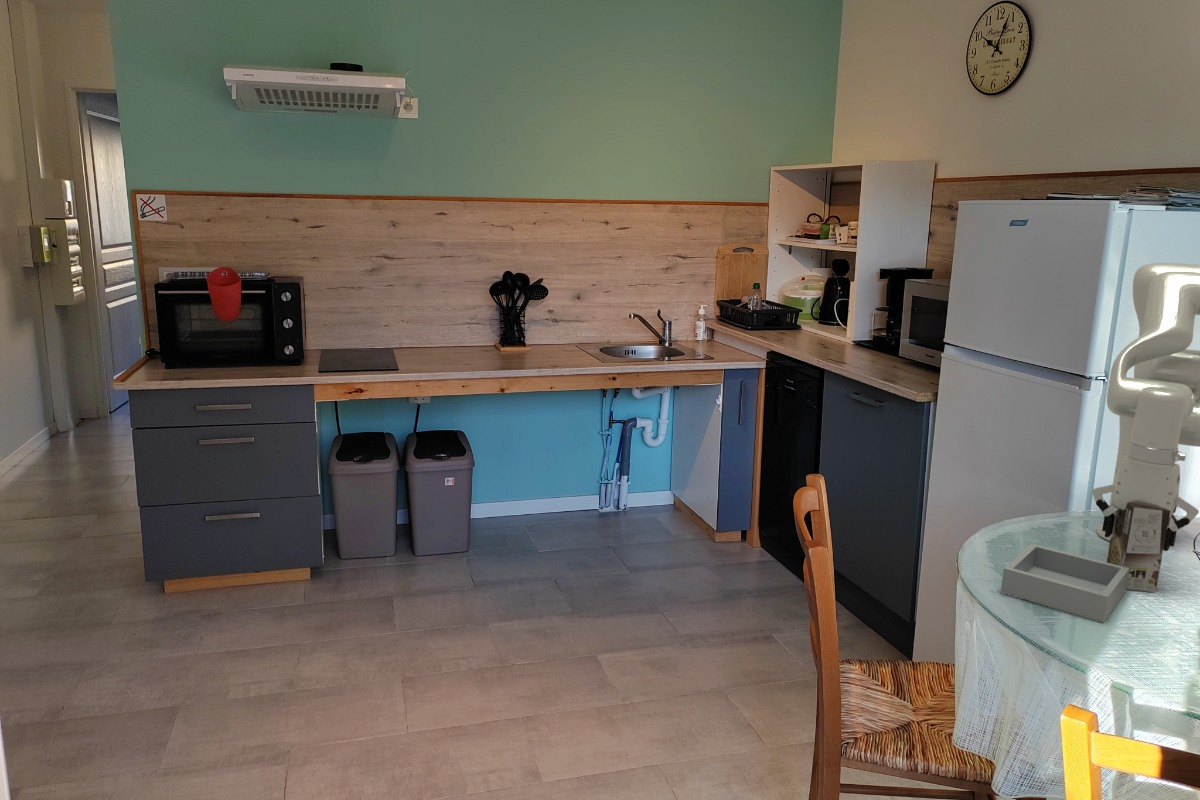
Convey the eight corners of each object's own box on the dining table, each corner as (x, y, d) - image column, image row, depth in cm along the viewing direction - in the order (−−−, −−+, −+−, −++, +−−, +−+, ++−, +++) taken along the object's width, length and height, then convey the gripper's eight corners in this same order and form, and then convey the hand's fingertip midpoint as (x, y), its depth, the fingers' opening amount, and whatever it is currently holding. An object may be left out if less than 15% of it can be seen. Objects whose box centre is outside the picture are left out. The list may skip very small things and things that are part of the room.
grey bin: (1028, 566, 178) (1031, 543, 177) (1125, 592, 168) (1129, 568, 166) (1000, 592, 166) (1003, 568, 164) (1103, 623, 155) (1108, 596, 154)
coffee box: (1157, 593, 168) (1172, 510, 164) (1119, 589, 169) (1133, 507, 165) (1139, 574, 176) (1153, 495, 173) (1103, 570, 178) (1116, 491, 174)
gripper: (1210, 460, 164) (1193, 549, 168) (1104, 441, 175) (1091, 525, 179) (1204, 468, 159) (1187, 560, 162) (1095, 448, 170) (1081, 535, 173)
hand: (1136, 542), depth 171 cm, fingers open, 9 cm apart
